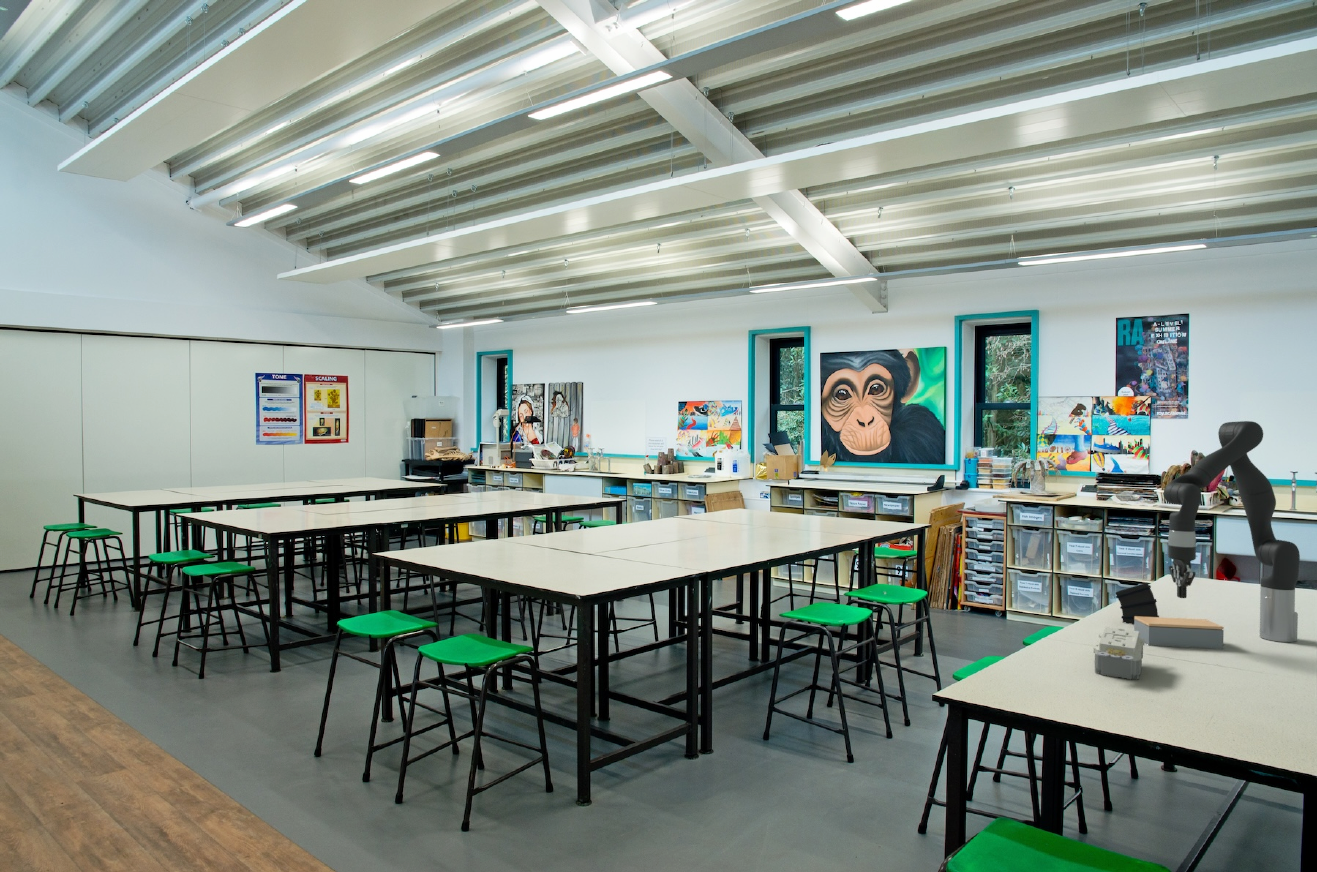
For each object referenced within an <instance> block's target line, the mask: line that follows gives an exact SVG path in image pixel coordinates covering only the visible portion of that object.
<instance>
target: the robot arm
mask: <svg viewBox="0 0 1317 872" xmlns="http://www.w3.org/2000/svg"><path fill="white" fill-rule="evenodd" d="M1217 435H1218V440H1219V444H1220V446H1221V447H1220V448H1219V449H1217V450H1215V451H1213V452H1210V453H1209V454H1207V455H1206V456H1204V457H1203V458H1201V459H1199V460H1198V461H1197V462H1196V463H1195V464H1194V465H1193V466H1192V467H1191V468H1190V469H1189V470H1188V471H1187V472H1185V473H1182V474H1181V475H1179V476H1177V477H1176V478H1175V479H1172V480H1171V481H1170V482H1168V483H1167V484H1166V486H1165V487H1164V490H1163V498H1164V499H1165V501H1166V502H1167V503H1170V504H1173V505H1180V506H1181V507H1180V509H1179V511H1174V512H1171V513H1170V514H1169V519H1168V520H1169V522H1168V526H1169V528H1168V529H1169V531H1168V536H1167V537H1168V538H1167V539H1168V540H1167V541H1168V543H1167V545H1168V549H1167V550H1168V551H1167V553H1168V555H1167V556H1168V558H1169V559H1171V560H1173V561H1172V565H1169V566H1168V569H1169V570H1168V571H1169V572H1170V575H1171V579H1172V581H1173V583H1175V585H1176V596H1177V597H1178V598H1180V599H1187V593H1188V592H1187V591H1188V590H1187V587H1190V586H1192V584H1193V581H1194V579H1195V577H1196V571H1192V563H1191V561H1195V560H1196V559H1197V536H1196V517H1197V513H1198V512H1199V511H1198V510H1199V508H1200V504H1201V502H1202V491H1201V489H1205V488H1207V487H1208V486H1209V485H1210V484H1211V483H1212V482H1213V481H1214V480H1215V479H1216V478H1217V477H1218V476H1219V475H1220V474H1221V473H1222V472H1223V471H1225V470H1226V469H1227V468H1228V467H1230V469H1231V471H1232V475H1233V477H1234V480H1235V483H1236V487H1237V491H1238V494H1239V497H1240V500H1241V503H1242V506H1243V509H1244V511H1245V516H1246V520H1247V523H1248V526H1249V531H1250V535H1251V542H1252V546H1253V551H1254V555H1255V557H1256V559H1257V560H1258V561H1259V563H1260V564H1262V565H1265V566H1269V567H1272V571H1271V573H1270V574H1269V575H1268V576H1267V575H1266V576H1263V577H1261V578H1260V589H1259V591H1260V592H1259V593H1260V595H1259V596H1260V597H1259V600H1260V604H1259V606H1260V607H1259V638H1261V639H1265V640H1268V641H1272V642H1273V641H1274V642H1281V643H1283V642H1284V643H1292V642H1298V626H1299V625H1298V623H1299V620H1298V618H1299V614H1298V612H1296V611H1295V610H1296V609H1295V608H1296V585H1297V583H1298V580H1299V572H1300V561H1301V558H1300V557H1301V556H1300V549H1299V547H1298V546H1297V545H1296V544H1295V543H1294V542H1291V541H1287V540H1282V539H1277V538H1276V536H1275V534H1274V530H1273V528H1272V517H1273V516H1274V513H1275V510H1276V507H1277V499H1276V495H1275V492H1274V489H1273V486H1272V484H1271V481H1270V480H1269V479H1268V477H1267V476H1266V475H1265V474H1264V473H1263V472H1262V471H1261V470H1260V469H1259V468H1258V467H1256V465H1255V464H1254V463H1253V462H1252V460H1251V459H1250V458H1249V456H1248V453H1250V452H1251V451H1252V450H1253V449H1254V450H1255V448H1256V447H1258V446H1259V445H1260V444H1261V442H1262V441H1263V438H1264V430H1263V427H1262V426H1261V425H1260V424H1259V423H1258V422H1255V421H1253V420H1252V421H1251V420H1241V421H1228V422H1224V423H1222V424H1221V425H1220V427H1219V429H1218V433H1217Z"/></svg>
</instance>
